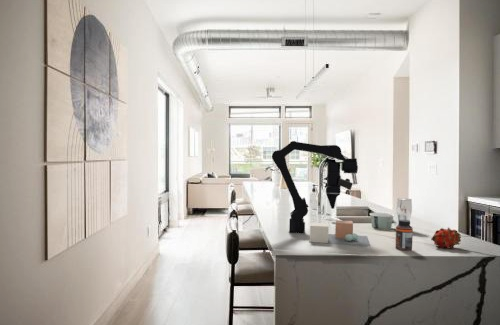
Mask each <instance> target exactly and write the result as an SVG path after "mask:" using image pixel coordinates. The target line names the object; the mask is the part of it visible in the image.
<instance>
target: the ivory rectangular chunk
mask: <svg viewBox="0 0 500 325" xmlns="http://www.w3.org/2000/svg"><path fill="white" fill-rule="evenodd" d="M309 226H310V227H309V228H310V229H309V230H310V231H309V240H310V242H322V243H321V244H324V243H328V235H329V234H330V232H329V230H330V228H329V226H330V225H329V223H321V222H320V223H319V222H311V223H310V225H309Z"/></svg>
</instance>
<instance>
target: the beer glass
mask: <svg viewBox="0 0 500 325" xmlns="http://www.w3.org/2000/svg"><path fill="white" fill-rule="evenodd" d="M412 212H413V201H412V198H404V197H403V198H400V197H399V198H397V200H396V215H397V226H398V225H399V220H409V221H410V222H411V217H412Z"/></svg>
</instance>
